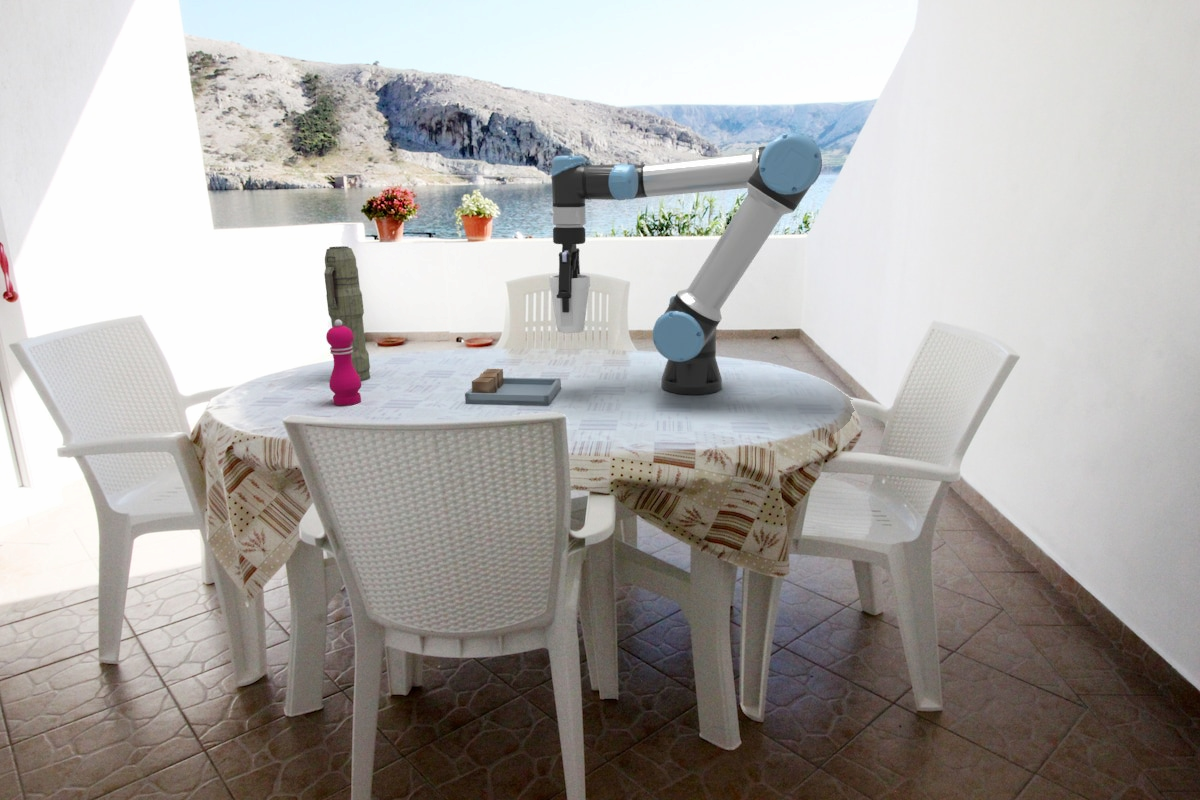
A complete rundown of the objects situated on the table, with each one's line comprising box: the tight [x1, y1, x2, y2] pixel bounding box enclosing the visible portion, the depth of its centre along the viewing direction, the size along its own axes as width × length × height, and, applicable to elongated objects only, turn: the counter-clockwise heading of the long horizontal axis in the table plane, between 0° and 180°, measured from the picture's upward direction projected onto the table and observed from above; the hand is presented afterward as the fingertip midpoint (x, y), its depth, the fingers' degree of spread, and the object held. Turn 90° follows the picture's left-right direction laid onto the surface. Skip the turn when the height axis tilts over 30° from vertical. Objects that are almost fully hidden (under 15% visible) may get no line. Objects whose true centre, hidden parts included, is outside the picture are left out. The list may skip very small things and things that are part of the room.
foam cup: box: [549, 274, 591, 334], centre depth 170 cm, size 10×9×13 cm
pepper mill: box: [325, 319, 362, 407], centre depth 169 cm, size 7×7×20 cm
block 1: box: [471, 376, 495, 393], centre depth 171 cm, size 4×4×4 cm
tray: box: [464, 377, 562, 406], centre depth 175 cm, size 20×16×2 cm
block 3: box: [482, 368, 504, 388], centre depth 179 cm, size 4×4×4 cm
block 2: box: [478, 372, 498, 393], centre depth 175 cm, size 4×4×4 cm
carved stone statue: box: [323, 245, 371, 382], centre depth 188 cm, size 9×12×35 cm
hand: (570, 322), depth 171 cm, fingers closed on foam cup, 9 cm apart
